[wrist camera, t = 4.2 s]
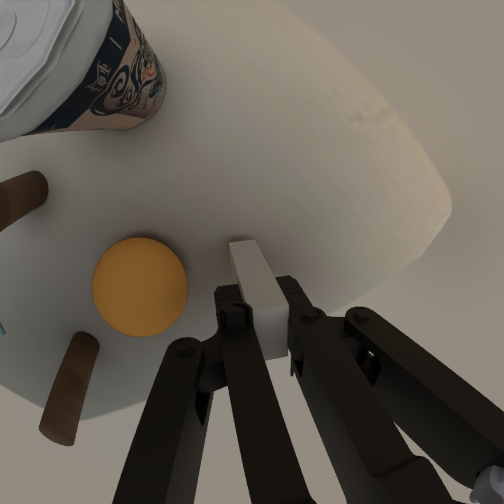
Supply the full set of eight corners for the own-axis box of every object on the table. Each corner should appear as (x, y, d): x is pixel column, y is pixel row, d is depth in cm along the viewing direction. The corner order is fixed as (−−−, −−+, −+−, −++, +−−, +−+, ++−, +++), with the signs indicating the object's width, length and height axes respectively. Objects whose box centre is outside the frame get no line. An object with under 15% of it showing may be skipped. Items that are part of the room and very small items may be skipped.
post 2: (79, 354, 19) (51, 443, 11) (68, 332, 18) (31, 422, 10) (103, 353, 20) (80, 448, 12) (93, 331, 19) (61, 427, 11)
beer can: (176, 113, 14) (117, 69, 3) (99, 142, 14) (-56, 187, 3) (157, 41, 12) (95, -89, 1) (81, 72, 12) (-64, 25, 1)
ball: (214, 326, 16) (168, 291, 20) (198, 236, 14) (151, 217, 17) (130, 372, 13) (99, 323, 16) (90, 280, 10) (71, 246, 14)
